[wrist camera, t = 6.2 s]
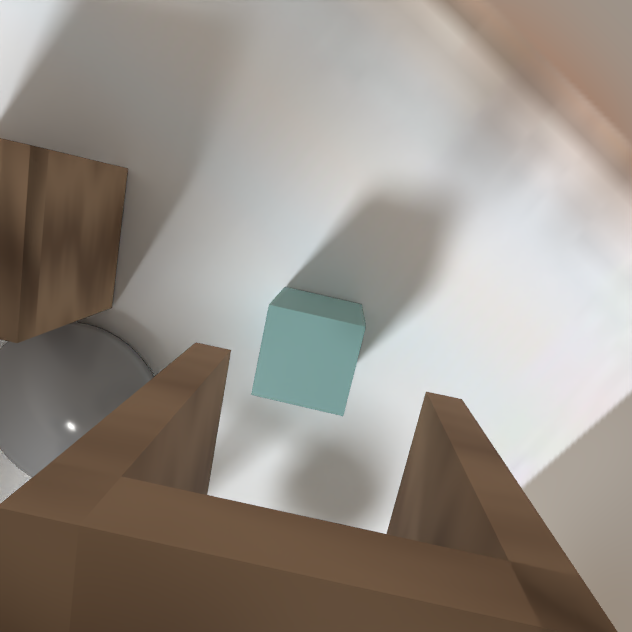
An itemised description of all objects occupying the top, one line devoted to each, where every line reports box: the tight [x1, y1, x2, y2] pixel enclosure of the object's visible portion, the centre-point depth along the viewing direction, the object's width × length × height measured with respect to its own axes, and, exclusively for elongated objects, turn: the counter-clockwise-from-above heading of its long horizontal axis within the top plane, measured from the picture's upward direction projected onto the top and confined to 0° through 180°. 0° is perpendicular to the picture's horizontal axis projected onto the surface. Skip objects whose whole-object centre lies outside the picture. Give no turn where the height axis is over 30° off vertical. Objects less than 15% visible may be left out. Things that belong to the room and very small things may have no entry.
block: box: [251, 287, 366, 416], centre depth 25 cm, size 5×5×6 cm
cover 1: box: [0, 138, 128, 343], centre depth 24 cm, size 9×9×8 cm
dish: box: [0, 322, 154, 477], centre depth 30 cm, size 12×12×1 cm
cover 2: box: [0, 343, 617, 632], centre depth 11 cm, size 9×9×8 cm
